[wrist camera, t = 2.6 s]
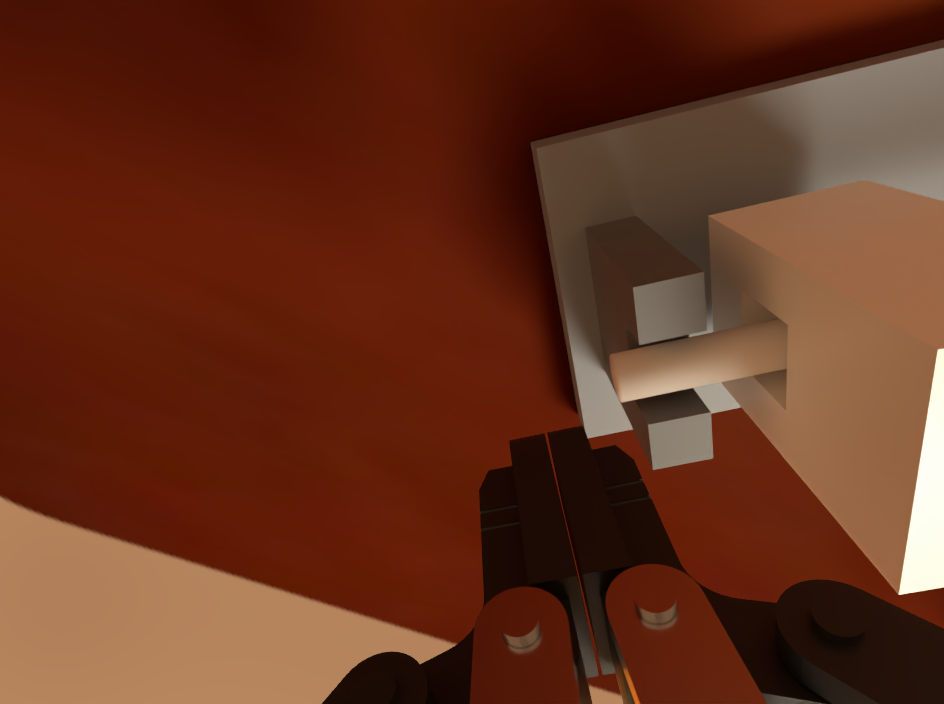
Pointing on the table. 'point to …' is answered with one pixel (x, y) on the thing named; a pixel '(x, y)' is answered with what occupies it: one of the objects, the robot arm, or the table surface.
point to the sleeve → (849, 357)
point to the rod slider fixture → (687, 229)
